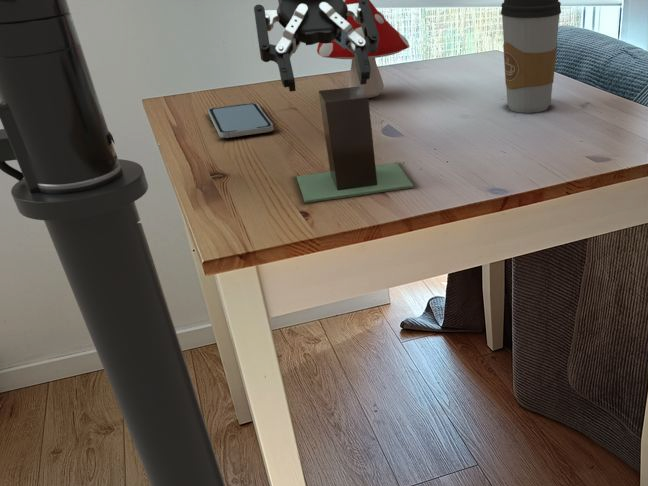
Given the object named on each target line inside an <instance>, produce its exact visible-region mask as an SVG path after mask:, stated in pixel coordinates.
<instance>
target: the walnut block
mask: <svg viewBox="0 0 648 486" xmlns="http://www.w3.org/2000/svg"><path fill="white" fill-rule="evenodd" d="M318 97H319V104H320V110H321V111H320V112H321V118H322V124H323V131H324V132H323V133H324V138H325V146H326V153H327V159H328V164H329V172H330V173H331V177H332V179H333V181H334V184H335V186H336V188H337V190H344V189H352V188H359V187H366V186H373V185H377V175H376V158H375V157H376V156H375V149H374V147H375V146H374V139H373V129H372V119H371V111H370V102H369V101H370V100H369V98H368V97H367V95H366V94H365V93H364V92H363V90H362V89H361V88H360V87H350V88H349V87H340V88H333V89H324V90H323V89H322V90H318Z"/></svg>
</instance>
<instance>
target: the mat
mask: <svg viewBox="0 0 648 486" xmlns="http://www.w3.org/2000/svg"><path fill="white" fill-rule="evenodd" d="M375 166H376V175H377V185H373V186H366V187H359V188H352V189H344V190H337V188H336V186H335V184H334V181H333V179H332V177H331V173H330V171H326V172H325V171H324V172H317V173H310V174H302V175H296V180H297V183H298V184H297V185H298V186H299V190H300V193H301V195H302V199H303V201H304V204H309V203H318V202H323V201H329V200H331V201H332V200H337V199H344V198H350V197H351V198H352V197H359V196H366V195H371V194H372V195H373V194H379V193H380V194H381V193H386V192H394V191H400V190H407V189H412V188H414V185H413V183H412V182H411V180H410V178H409V177H408V176H407V175H406V173H405V172H404V170H403V169H402V167H401V166H400V165H399V163H398V162H392V163H384V164H377V165H376V164H375Z"/></svg>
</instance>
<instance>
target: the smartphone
mask: <svg viewBox="0 0 648 486" xmlns="http://www.w3.org/2000/svg"><path fill="white" fill-rule="evenodd" d="M207 112H208V116H209V118H210V119H211V122H212V123H213V126H214V128H215V130H216V132H217V134H218V136H219V138H221V139H229V138H236V137H243V136H249V135H256V134H263V133H269V132H270V133H271V132H272V131H274V130H275V129H274V124H273V122H272V121H271V120H270V118H269V117H268V116H267V115H266V114H265V112H264V111H263V109H262V108H261V107H260V106H259V104H258V103H256V102H248V103H239V104H232V105H225V106H215V107H210V108H208V109H207Z"/></svg>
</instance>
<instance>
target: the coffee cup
mask: <svg viewBox="0 0 648 486" xmlns="http://www.w3.org/2000/svg"><path fill="white" fill-rule="evenodd" d="M561 5H562V3H561V1H559V0H503V2H502V3H501V6H500V7H501V9H500V15H501V17H502V18H501V19H502V21H501V22H502V36H503V44H502V45H503V49H502V50H503V63H504V79H505V88H506V104H507V105H508V108H509V109H510V110H511V111H513V112H516V113H524V114H525V113H526V114H532V113H540V112H544V111H546V110H548V109H549V107H550V105H551V102H552V94H553V93H552V92H553V84H554V78H555V70H556V60H557V59H556V58H557V50H558V33H559V23H560V15H561V14H562V8H561Z"/></svg>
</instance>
